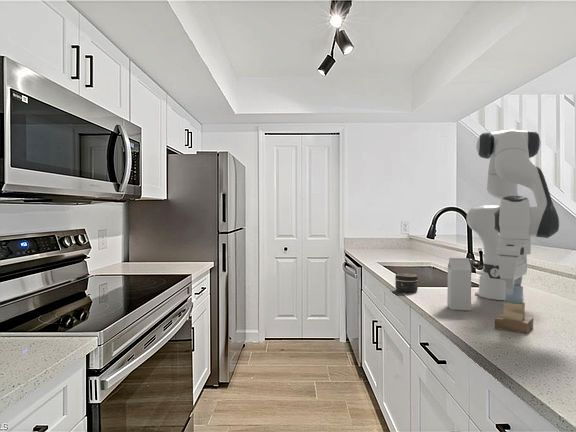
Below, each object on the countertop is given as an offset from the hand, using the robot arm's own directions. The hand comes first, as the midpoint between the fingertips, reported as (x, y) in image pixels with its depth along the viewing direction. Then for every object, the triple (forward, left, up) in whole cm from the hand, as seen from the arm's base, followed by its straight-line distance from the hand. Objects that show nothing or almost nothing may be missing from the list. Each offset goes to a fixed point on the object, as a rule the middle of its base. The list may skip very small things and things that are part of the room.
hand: (514, 291), depth 132 cm
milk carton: (-16, -22, -11) cm, 29 cm away
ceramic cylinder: (0, 0, -3) cm, 3 cm away
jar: (-35, -51, -12) cm, 63 cm away
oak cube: (0, 0, -8) cm, 8 cm away
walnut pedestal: (0, 0, -11) cm, 11 cm away
